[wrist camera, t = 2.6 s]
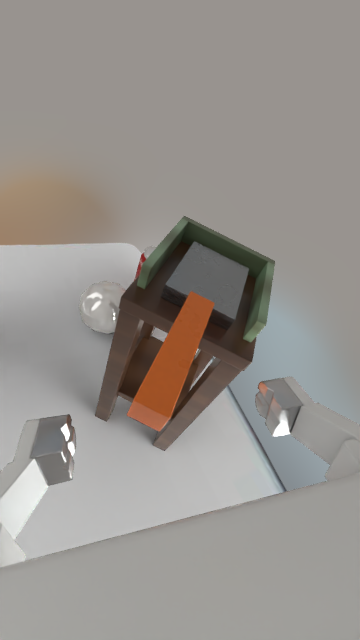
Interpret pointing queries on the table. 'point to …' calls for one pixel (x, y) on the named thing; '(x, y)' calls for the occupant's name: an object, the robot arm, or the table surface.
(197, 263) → the trowel
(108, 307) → the potion bottle
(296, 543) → the robot arm
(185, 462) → the table surface
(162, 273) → the plant stand
